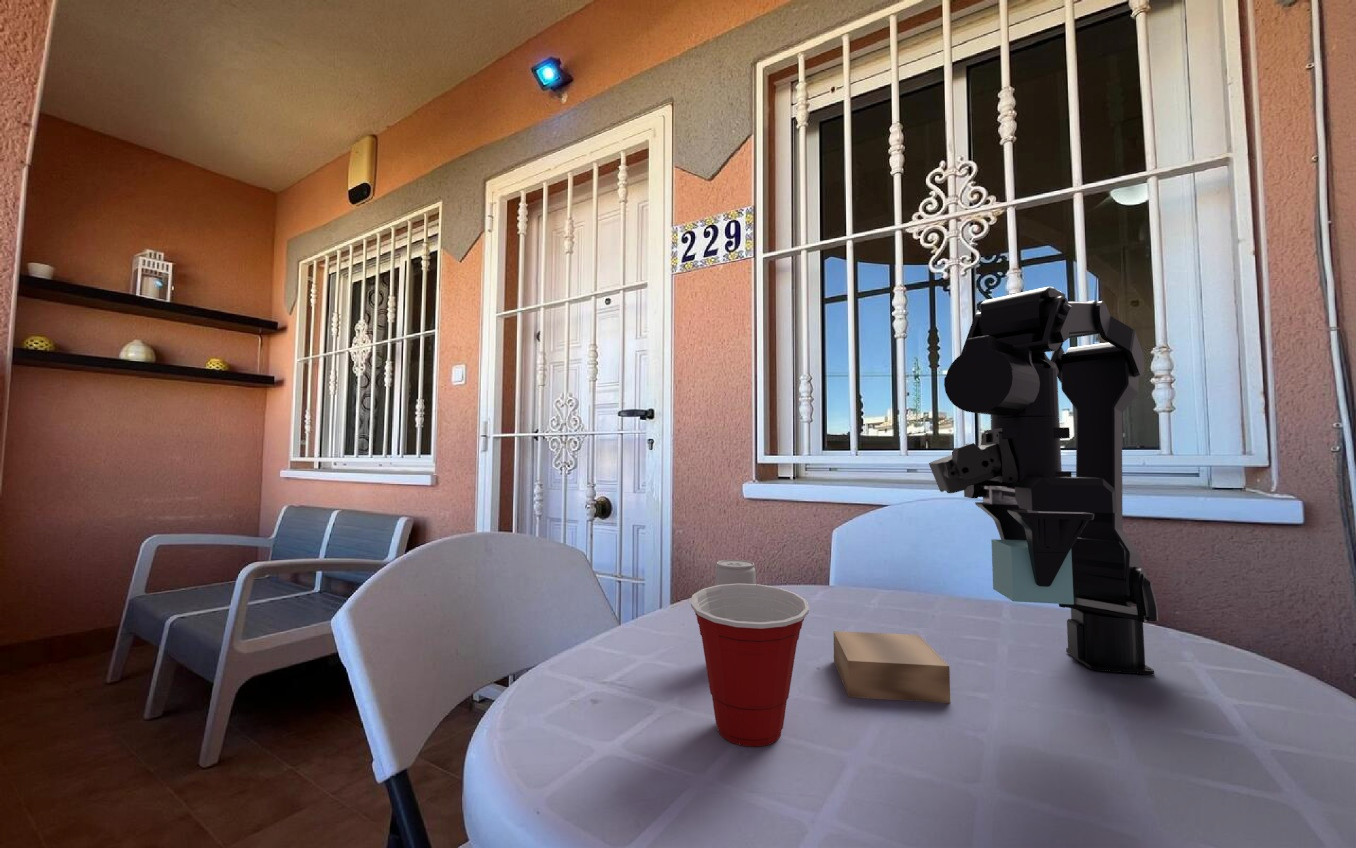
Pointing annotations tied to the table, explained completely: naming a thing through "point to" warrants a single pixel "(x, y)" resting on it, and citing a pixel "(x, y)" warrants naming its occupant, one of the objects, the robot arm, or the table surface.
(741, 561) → the beverage can
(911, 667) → the light brown wooden block
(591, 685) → the table surface
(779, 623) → the plastic cup
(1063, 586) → the teal cube
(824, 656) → the table surface
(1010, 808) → the table surface
